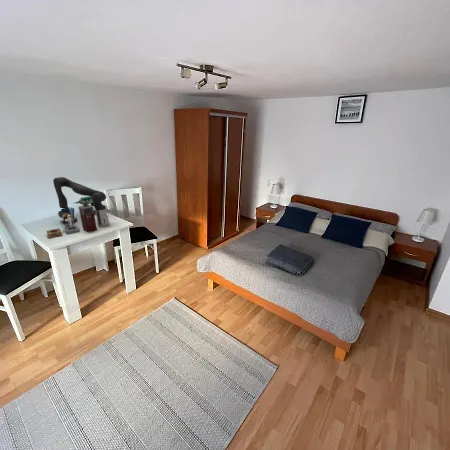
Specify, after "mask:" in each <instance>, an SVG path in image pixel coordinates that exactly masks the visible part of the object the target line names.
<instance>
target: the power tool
mask: <svg viewBox="0 0 450 450" xmlns="http://www.w3.org/2000/svg"><path fill="white" fill-rule="evenodd" d="M83 201H86V202H88V205H90V206H92V207H94V205H93V201H92V196H83V197H80V199H79V200H78V201H76V202H75V201H74V204H80V205H82V202H83ZM93 211H94V216H96V211H95V209H93ZM106 212H107V213H108V211H107V210H106Z"/></svg>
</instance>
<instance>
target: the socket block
mask: <svg viewBox="0 0 450 450" xmlns="http://www.w3.org/2000/svg"><path fill="white" fill-rule="evenodd" d="M73 226H74V229H72V230H70V227H65V228H64V231H65V233H66V235H72V234H77V233H80V228H79V226H78V225H73Z"/></svg>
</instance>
